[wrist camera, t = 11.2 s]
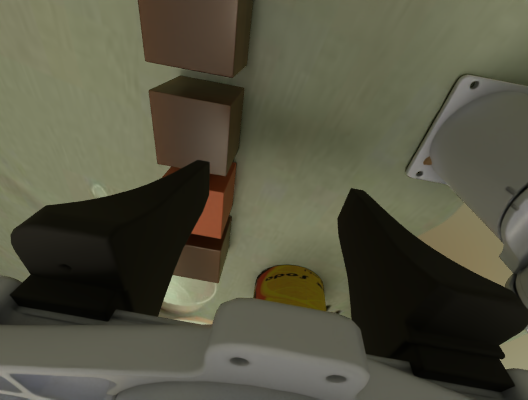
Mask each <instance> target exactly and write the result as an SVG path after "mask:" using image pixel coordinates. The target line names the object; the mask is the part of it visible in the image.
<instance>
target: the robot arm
mask: <svg viewBox="0 0 528 400" xmlns="http://www.w3.org/2000/svg"><path fill="white" fill-rule="evenodd" d="M474 81H475V82H476V83H475V85H474V86H473V87H471V88H470V84H471V83H472V82H474ZM429 156H430V158H431V161H432V165H424V164H423V162H424V160H425V159H426V158H427V157H429ZM419 171H421V172H420V173H419V174H416V173H417V172H419ZM406 174H407V175H408V177H411V178H416V179H421V180H427V181H432V182H437V183H443V184H448V186H449V187H450V188H451V189H452V190H453V191H454V192H455V193H456V194H457V195H458V196H459V197H460V198H461V199H462V200H463V201H464V202H465V203H466V205H467V206H468V207H469V208H470V209H471V210H472V211H473V212H474V213H475V214H476V215H477V216H478V217H479V218H480V219H481V220H482V221H483V222H484V223H485V224H486V226H487V227H488V228H489V229H490V230H491V231H492V232H493V233H494V234H495V235H496V236H497V237H498V238H499V239H500V240H501V241H502V242H503V244H504V247H503V251H502V253H501V254H500V255H499V257H500V259H501V260H502V261H503V262H504V263H505V264H506V265H507V267H508V268H509V269H510V270H511V271H512V272H513V273H514V274H512V275H511V276H510V278H509V279H508V280H507V282H506V284H505V287H503V286H501V285H499V284H497V283H495V282H493V281H491V280H488V279H486V278H484V277H482V276H480V275H478V274H476V273H474V272H472V271H470V270H468V269H467V268H465V267H463V266H461V265H459V264H457V263H455V262H454V261H452V260H450V259H449V258H447V257H446V256H444V255H442V254H441V253H439V252H437V251H436V250H434V249H433V248H431V247H430V246H428V245H427V244H425V243H424V242H423V241H421V240H420V239H418V238H417V237H416V236H414V235H413V234H412V233H410V232H409V231H408V230H407V229H405V228H404V227H403V226H402V225H401V224H400V223H398V222H397V221H396V220H395V219H394V218H393V217H392V216H390V215H389V214H388V213H387V212H386V211H385V210H384V209H383V208H382V207H381V206H380V205H379V204H378V203H377V202H376V201H375V200H374V199H373V198H371V197H370V196H369V195H368V194H367V193H366V192H365V191H363V190H359V189H353V188H351V189H350V192H349V194H348V196H347V198H346V201H345V203H344V205H343V207H342V210H341V212H340V214H339V216H338V234H339V240H340V245H341V249H342V254H343V258H344V262H345V267H346V271H347V277H348V283H349V293H350V304H351V317H352V320H351V319H350V318H347V317H345V316H342V315H339V314H336V313H333V312H327V311H322V310H316V309H311V308H305V307H300V306H294V305H288V304H283V303H277V302H272V301H266V300H261V299H255V298H236V299H233V300H230V301H227V302H224V303H222V304H221V305H220V307H219V308H218V310H217V311H216V313H215V317H214V321H213V324H212V325H201V324H195V323H189V322H184V321H178V320H173V319H167V318H162V317H158V315H159V312H160V309H161V306H162V303H163V300H164V297H165V294H166V292H167V289H168V286H169V283H170V281H171V278H172V275H173V273H174V270H175V267H176V265H177V262H178V260H179V258H180V255H181V253H182V250H183V248H184V246H185V244H186V242H187V240H188V238H189V236H190V235H191V233H192V231H193V229H194V227H195V225H196V224H197V222H198V220H199V218H200V216H201V214H202V212H203V210H204V208H205V205H206V203H207V200H208V197H209V181H210V162H208V161H202V160H196V161H194V162H192V163H190V164H188V165H187V166H185V167H183V168H181V169H179V170H177V171H175V172H173V173H172V174H169V175H167V176H165V177H163V178H161V179H159V180H157V181H154V182H152V183H149V184H147V185H144V186H141V187H139V188H136V189H133V190H129V191H126V192H122V193H118V194H115V195H111V196H106V197H102V198H97V199H91V200H86V201H79V202H72V203H64V204H56V205H46V206H45V207H43V208H42V209H41V210H39V211H38V212H37V213H35V214H34V215H33V216H31V217H30V218H28V219H27V220H26V221H24V222H23V223H22V224H20V225H19V226H18V227H16V228H15V229H14V230H13V231H12V233H11V244H12V246H13V248H14V250H15V252H16V253H17V255H18V256H19V258H20V259H21V261H22V262H23V264H24V265H25V267H26V268H27V270H28V271H29V273H30V274H31V275H30V276H29V277H28V278H27V279H26V280H25V281H24V282H23V283H22V282H20V281H19V280H17V279H14V278H11V277H7V276H1V275H0V400H528V370H523V369H514V368H513V369H505V368H504V366H503V364H502V363H501V361H500V359H503V358H505V354H504V353H503V352H502V350H501V348H500V346H499V345H500V344H502V343H504V342H505V341H507V340H509V339H510V338H512V337H513V336H515V335H517V334H518V333H520V332H521V331H522V330H524V329H525V330H526V331H527V332H528V86H526V85H520V84H515V83H510V82H505V81H500V80H494V79H489V78H484V77H479V76H473V75H464V76H462V77H461V78H459V80H458V81H457V82H456V84H455V86H454V88H453V89H452V91H451V93H450V95H449V96H448V98H447V100H446V102H445V103H444V105H443V107H442V109H441V110H440V112H439V114H438V116H437V117H436V119H435V121H434V122H433V124H432V126H431V128H430V129H429V131H428V133H427V135H426V136H425V138H424V140H423V142H422V143H421V145H420V147H419V149H418V150H417V152H416V154H415V156H414V157H413V159H412V161H411V163H410V164H409V166H408V168H407V170H406Z"/></svg>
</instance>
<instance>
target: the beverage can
mask: <svg viewBox="0 0 528 400" xmlns="http://www.w3.org/2000/svg"><path fill="white" fill-rule="evenodd" d="M253 298H255V299H261V300H266V301H272V302H277V303H283V304H288V305H294V306H300V307H305V308H311V309H316V310H322V311H326V304H325V295H324V287H323V282H322V280H321V279H320V278H319V276H318V275H316V274H315V273H314V272H312V271H310V270H308V269H306V268H303V267H299V266H294V265H280V266H275V267H271V268H268V269H267V270H265V271H263V272H262V273H261V274H260V275H259V276H258V277H257V280H256V283H255V290H254V296H253Z"/></svg>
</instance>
